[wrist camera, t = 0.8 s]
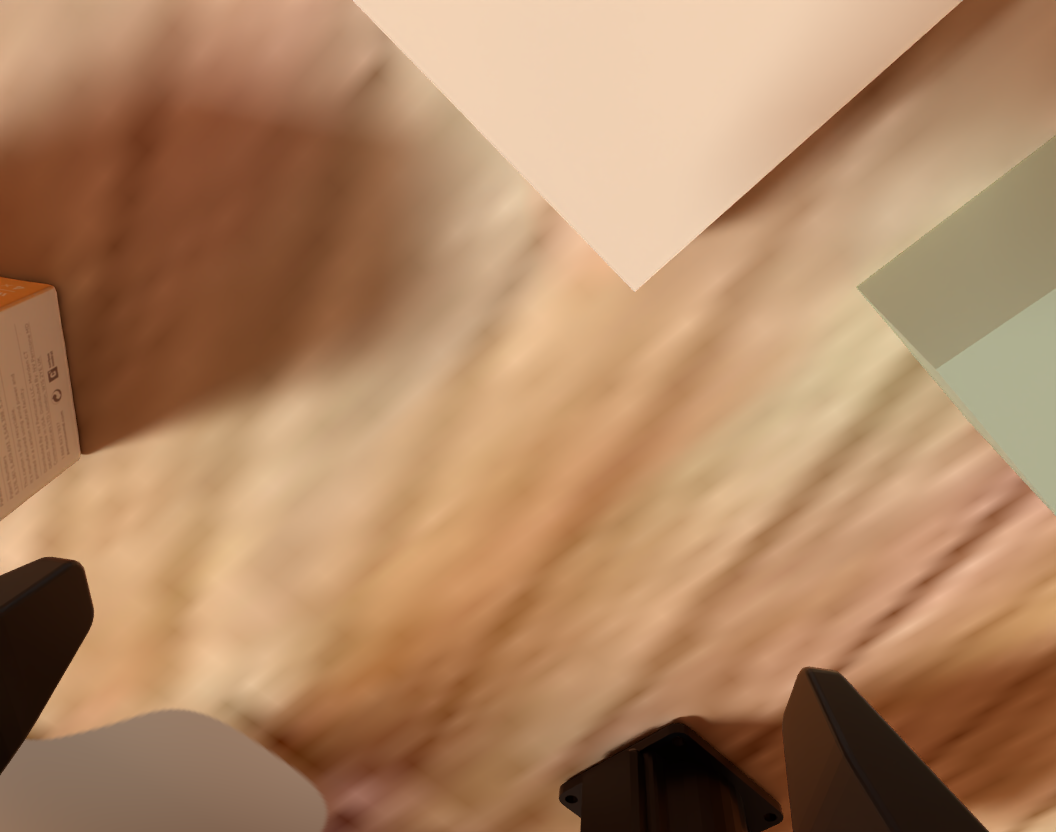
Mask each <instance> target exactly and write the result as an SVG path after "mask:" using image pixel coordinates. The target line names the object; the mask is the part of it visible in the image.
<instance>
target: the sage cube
mask: <svg viewBox="0 0 1056 832" xmlns="http://www.w3.org/2000/svg"><path fill="white" fill-rule="evenodd" d="M856 288H857V289H858V290H859V291H860V292H861V294H862V295H863V296H864V297H865V298H866V300H867V301H868V302H869V303H870V304H871V305H872V307H873V308H874V309H875V310H876V311H877V313H878V314H879V315H880V316H881V317H882V319H883V320H884V321H885V322H886V323H887V325H888V326H889V327H890V328H891V329H892V331H893V332H894V333H895V334H896V335H897V336H898V338H899V339H900V340H901V341H902V342H903V344H904V345H905V346H906V347H907V348H908V350H909V351H910V352H911V353H912V354H913V356H914V357H915V358H916V359H917V360H918V362H919V363H920V364H921V365H922V366H923V367H924V369H925V370H926V371H927V372H928V373H929V375H930V376H931V377H932V378H933V379H934V381H935V382H936V383H937V384H938V385H939V387H940V388H941V389H942V390H943V391H944V393H945V394H946V395H947V396H948V397H949V399H950V400H951V401H952V402H953V403H954V404H955V406H956V407H957V408H958V409H959V410H960V412H961V413H962V414H963V415H964V416H965V418H966V419H967V420H968V421H969V422H970V423H971V425H972V426H973V427H974V428H975V429H976V430H977V431H978V432H979V433H980V434H981V435H982V436H983V438H984V439H985V440H986V441H987V442H988V443H989V444H990V445H991V446H992V447H993V448H994V449H995V451H996V452H997V453H998V454H999V455H1000V456H1001V457H1002V458H1003V459H1004V460H1005V461H1006V462H1007V464H1008V465H1009V466H1010V467H1011V468H1012V469H1013V470H1014V471H1015V472H1016V473H1017V474H1018V476H1019V477H1020V478H1021V479H1022V480H1023V481H1024V482H1025V483H1026V484H1027V485H1028V486H1029V487H1030V489H1031V490H1032V491H1033V492H1034V493H1035V494H1036V495H1037V496H1038V497H1039V498H1040V499H1041V500H1042V502H1043V503H1044V504H1045V505H1046V506H1047V507H1048V508H1049V509H1050V510H1051V511H1052V512H1053V513H1054V515H1055V516H1056V136H1054V137H1053V138H1052V139H1050V140H1049V141H1048V142H1046V143H1045V144H1044V145H1042V146H1041V147H1040V148H1038V149H1037V150H1036V151H1034V152H1033V153H1032V154H1031V155H1029V156H1028V157H1027V158H1025V159H1024V160H1023V161H1021V162H1020V163H1019V164H1017V165H1016V166H1015V167H1013V168H1012V169H1011V170H1010V171H1008V172H1007V173H1006V174H1004V175H1003V176H1002V177H1000V178H999V179H998V180H996V181H995V182H994V183H992V184H991V185H990V186H988V187H987V188H986V189H985V190H983V191H982V192H981V193H979V194H978V195H977V196H975V197H974V198H973V199H971V200H970V201H969V202H967V203H966V204H965V205H964V206H962V207H961V208H960V209H958V210H957V211H956V212H954V213H953V214H952V215H950V216H949V217H948V218H946V219H945V220H944V221H942V222H941V223H940V224H939V225H937V226H936V227H935V228H933V229H932V230H931V231H929V232H928V233H927V234H925V235H924V236H923V237H921V238H920V239H919V240H918V241H916V242H915V243H914V244H912V245H911V246H910V247H908V248H907V249H906V250H904V251H903V252H902V253H900V254H899V255H898V256H897V257H895V258H894V259H893V260H891V261H890V262H889V263H887V264H886V265H885V266H883V267H882V268H881V269H879V270H878V271H877V272H875V273H874V274H873V275H872V276H870V277H869V278H868V279H866V280H865V281H864V282H862V283H861V284H860V285H858V286H857V287H856Z"/></svg>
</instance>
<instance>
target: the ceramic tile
mask: <svg viewBox="0 0 1056 832" xmlns="http://www.w3.org/2000/svg"><path fill="white" fill-rule="evenodd" d="M353 1H354V2H355V3H356V4H357V5H358V7H359V8H360V9H361V10H362V11H363V12H364V13H365V14H366V15H367V16H368V17H369V18H370V19H371V20H372V21H373V22H374V23H375V24H376V25H377V26H378V27H379V28H380V29H381V30H382V31H383V32H384V33H385V34H386V35H387V37H388V38H389V39H390V40H391V41H392V42H393V43H394V44H395V45H396V46H397V47H398V48H399V49H400V50H401V51H402V52H403V53H404V54H405V55H406V56H407V57H408V58H409V59H410V60H411V61H412V62H413V63H414V64H415V65H416V67H417V68H418V69H419V70H420V71H421V72H422V73H423V74H424V75H425V76H426V77H427V78H428V79H429V80H430V81H431V82H432V83H433V84H434V85H435V86H436V87H437V88H438V89H439V90H440V91H441V92H442V93H443V94H444V95H445V97H446V98H447V99H448V100H449V101H450V102H451V103H452V104H453V105H454V106H455V107H456V108H457V109H458V110H459V111H460V112H461V113H462V114H463V115H464V116H465V117H466V118H467V119H468V120H469V121H470V122H471V123H472V124H473V125H474V127H475V128H476V129H477V130H478V131H479V132H480V133H481V134H482V135H483V136H484V137H485V138H486V139H487V140H488V141H489V142H490V143H491V144H492V145H493V146H494V147H495V148H496V149H497V150H498V151H499V152H500V153H501V154H502V155H503V157H504V158H505V159H506V160H507V161H508V162H509V163H510V164H511V165H512V166H513V167H514V168H515V169H516V170H517V171H518V172H519V173H520V174H521V175H522V176H523V177H524V178H525V179H526V180H527V181H528V182H529V183H530V184H531V185H532V187H533V188H534V189H535V190H536V191H537V192H538V193H539V194H540V195H541V196H542V197H543V198H544V199H545V200H546V201H547V202H548V203H549V204H550V205H551V206H552V207H553V208H554V209H555V210H556V211H557V212H558V213H559V214H560V215H561V217H562V218H563V219H564V220H565V221H566V222H567V223H568V224H569V225H570V226H571V227H572V228H573V229H574V230H575V231H576V232H577V233H578V234H579V235H580V236H581V237H582V238H583V239H584V240H585V241H586V242H587V243H588V244H589V245H590V247H591V248H592V249H593V250H594V251H595V252H596V253H597V254H598V255H599V256H600V257H601V258H602V259H603V260H604V261H605V262H606V263H607V264H608V265H609V266H610V267H611V268H612V269H613V270H614V271H615V272H616V273H617V274H618V276H619V277H620V278H621V279H622V280H623V281H624V282H625V283H626V284H627V285H628V286H629V287H630V288H631V289H632V290H633V291H634V292H635V291H636V290H637V289H639V288H640V287H641V286H642V285H643V284H644V283H645V282H646V281H648V280H649V279H650V278H651V277H652V276H653V275H654V274H655V273H657V272H658V271H659V270H660V269H661V268H662V267H663V266H664V265H666V264H667V263H668V262H669V261H670V260H671V259H672V258H673V257H675V256H676V255H677V254H678V253H679V252H680V251H681V250H682V249H684V248H685V247H686V246H687V245H688V244H689V243H690V242H691V241H693V240H694V239H695V238H696V237H697V236H698V235H699V234H700V233H702V232H703V231H704V230H705V229H706V228H707V227H708V226H709V225H711V224H712V223H713V222H714V221H715V220H716V219H717V218H718V217H720V216H721V215H722V214H723V213H724V212H725V211H726V210H727V209H729V208H730V207H731V206H732V205H733V204H734V203H735V202H736V201H738V200H739V199H740V198H741V197H742V196H743V195H744V194H745V193H747V192H748V191H749V190H750V189H751V188H752V187H753V186H754V185H756V184H757V183H758V182H759V181H760V180H761V179H762V178H763V177H765V176H766V175H767V174H768V173H769V172H770V171H771V170H772V169H774V168H775V167H776V166H777V165H778V164H779V163H780V162H781V161H783V160H784V159H785V158H786V157H787V156H788V155H789V154H790V153H792V152H793V151H794V150H795V149H796V148H797V147H798V146H799V145H801V144H802V143H803V142H804V141H805V140H806V139H807V138H809V137H810V136H811V135H812V134H813V133H814V132H815V131H816V130H818V129H819V128H820V127H821V126H822V125H823V124H824V123H825V122H827V121H828V120H829V119H830V118H831V117H832V116H833V115H834V114H836V113H837V112H838V111H839V110H840V109H841V108H842V107H843V106H845V105H846V104H847V103H848V102H849V101H850V100H851V99H852V98H854V97H855V96H856V95H857V94H858V93H859V92H860V91H861V90H863V89H864V88H865V87H866V86H867V85H868V84H869V83H870V82H872V81H873V80H874V79H875V78H876V77H877V76H878V75H879V74H881V73H882V72H883V71H884V70H885V69H886V68H887V67H888V66H890V65H891V64H892V63H893V62H894V61H895V60H896V59H897V58H899V57H900V56H901V55H902V54H903V53H904V52H905V51H906V50H908V49H909V48H910V47H911V46H912V45H913V44H914V43H915V42H917V41H918V40H919V39H920V38H921V37H922V36H923V35H924V34H926V33H927V32H928V31H929V30H930V29H931V28H932V27H933V26H935V25H936V24H937V23H938V22H939V21H940V20H941V19H942V18H944V17H945V16H946V15H947V14H948V13H949V12H950V11H951V10H953V9H954V8H955V7H956V6H957V5H958V4H959V3H960V2H962V1H963V0H353Z"/></svg>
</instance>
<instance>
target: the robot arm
mask: <svg viewBox="0 0 1056 832" xmlns="http://www.w3.org/2000/svg"><path fill="white" fill-rule="evenodd" d="M93 617H94V608H93V603H92V599H91V595H90V591H89V586H88V582H87V578H86V574H85V570H84V567H83V566H82V565H81V564H80V563H79V562H77V561H75V560H70V559H63V558H56V557H44V558H41V559H38V560H36V561H33V562H31V563H29V564H26V565H24V566H22V567H19V568H17V569H15V570H12V571H10V572H8V573H5V574H3V575H0V775H1V773H2V772H3V771H4V769H5V768H6V766H7V765H8V764H9V762H10V761H11V759H12V758H13V756H14V755H15V753H16V752H17V751H18V749H19V748H20V746H21V745H22V743H23V742H24V740H25V739H26V737H27V735H28V734H29V732H30V731H31V729H32V727H33V726H34V724H35V723H36V721H37V719H38V718H39V716H40V714H41V712H42V711H43V709H44V707H45V706H46V704H47V702H48V700H49V699H50V697H51V695H52V693H53V692H54V690H55V688H56V687H57V685H58V683H59V681H60V680H61V678H62V676H63V675H64V673H65V671H66V669H67V668H68V666H69V664H70V663H71V661H72V659H73V657H74V656H75V654H76V652H77V651H78V649H79V647H80V645H81V644H82V642H83V640H84V639H85V637H86V635H87V633H88V632H89V630H90V627H91V625H92V622H93ZM782 732H783V743H784V752H785V762H786V771H787V780H788V790H789V799H790V808H791V818H792V827H793V832H989V831H988V830H987V829H986V828H985V827H984V826H983V825H982V824H981V823H980V821H979V820H978V819H977V818H976V817H975V816H974V815H973V814H972V813H971V812H970V811H969V810H968V809H967V808H966V807H965V805H964V804H963V803H962V802H961V801H960V800H959V799H958V798H957V797H956V796H955V795H954V794H953V793H952V792H951V791H950V789H949V788H948V787H947V786H946V785H945V784H944V783H943V782H942V781H941V780H940V779H939V778H938V777H937V776H936V775H935V773H934V772H933V771H932V770H931V769H930V768H929V767H928V766H927V765H926V764H925V763H924V762H923V761H922V760H921V759H920V757H919V756H918V755H917V754H916V753H915V752H914V751H913V750H912V749H911V748H910V747H909V746H908V745H907V744H906V743H905V741H904V740H903V739H902V738H901V737H900V736H899V735H898V734H897V733H896V732H895V731H894V730H893V729H892V728H891V727H890V725H889V724H888V723H887V722H886V721H885V720H884V719H883V718H882V717H881V716H880V715H879V714H878V713H877V712H876V710H875V709H874V708H873V707H872V706H871V705H870V704H869V703H868V702H867V701H866V700H865V699H864V698H863V697H862V696H861V694H860V693H859V692H858V691H857V690H856V689H855V688H854V687H853V686H852V685H851V684H850V683H849V682H848V681H847V680H846V678H845V677H844V676H842V675H841V674H840V673H839V672H837V671H834V670H828V669H822V668H815V667H804V668H802V669H801V671H800V672H799V674H798V676H797V679H796V681H795V684H794V687H793V690H792V693H791V695H790V698H789V701H788V704H787V706H786V709H785V712H784V716H783V724H782ZM559 800H560V802H561V803H562V804H563V805H564V806H565V807H567V808H568V809H569V810H571V811H572V812H574V813H575V814H576V815H578V816H579V817H580V818H581V832H761V831H764V830H766V829H768V828H770V827H772V826H775V825H777V824H779V823H780V822H782V820H783V813H782V809H781V805H780V804H779V803H778V802H777V801H776V800H775V799H773V798H772V797H771V796H770V795H769V794H767V793H766V792H765V791H764V790H763V789H761V788H760V787H759V786H758V785H757V784H756V783H754V782H753V781H752V780H751V779H750V778H748V777H747V776H746V775H745V774H744V773H742V772H741V771H740V770H739V769H738V768H736V767H735V766H734V765H733V764H732V763H730V762H729V761H728V760H727V759H726V758H725V757H723V756H722V755H721V754H720V753H719V752H717V751H716V750H715V749H714V748H713V747H711V746H710V745H709V744H708V743H707V742H705V741H704V740H703V739H702V738H701V737H700V736H698V735H697V734H696V733H695V732H694V731H692V730H691V729H690V728H689V727H687V726H686V725H684V724H680V723H674V724H671V725H668V726H666V727H665V728H663V729H661V730H659V731H657V732H656V733H654V734H652V735H650V736H648V737H647V738H645V739H643V740H641V741H639V742H638V743H636V744H634V745H632V746H630V747H629V748H627V749H625V750H623V751H621V752H620V753H618V754H616V755H614V756H613V757H611V758H609V759H607V760H605V761H604V762H602V763H600V764H598V765H596V766H595V767H593V768H591V769H589V770H587V771H586V772H584V773H582V774H580V775H578V776H577V777H575V778H573V779H571V780H569V781H568V782H566V783H564V784H563V785H561V787H560V790H559Z"/></svg>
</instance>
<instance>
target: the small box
mask: <svg viewBox="0 0 1056 832" xmlns="http://www.w3.org/2000/svg"><path fill="white" fill-rule="evenodd" d="M80 455H81V452H80V445H79V436H78V429H77V423H76V415H75V409H74V403H73V395H72V389H71V383H70V376H69V368H68V362H67V356H66V348H65V342H64V336H63V330H62V324H61V318H60V311H59V305H58V298H57V292H56V290H55V287H54V286H52V285H50V284H43V283H36V282H28V281H21V280H15V279H9V278H4V277H0V521H1V520H2V519H4V518H5V517H6V516H7V515H9V514H10V513H11V512H13V511H14V510H15V509H16V508H18V507H19V506H20V505H22V504H23V503H24V502H25V501H26V500H28V499H29V498H30V497H32V496H33V495H34V494H35V493H37V492H38V491H39V490H41V489H42V488H43V487H44V486H46V485H47V484H48V483H50V482H51V481H52V480H53V479H55V478H56V477H57V476H59V475H60V474H61V473H62V472H64V471H65V470H66V469H67V468H69V467H70V466H71V465H73V464H74V463H75V462H76V461H78V460H79V459H80Z"/></svg>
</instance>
